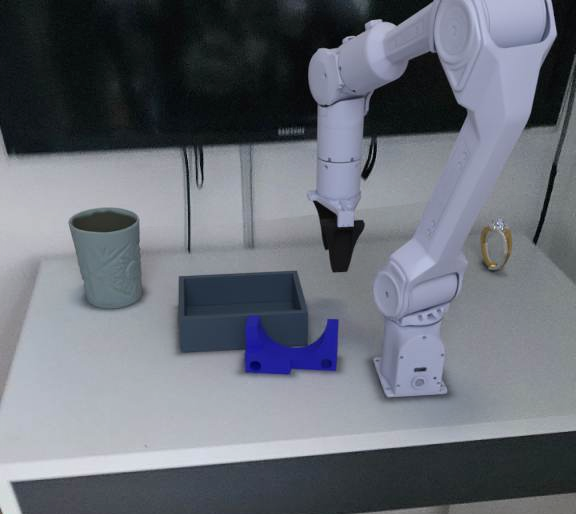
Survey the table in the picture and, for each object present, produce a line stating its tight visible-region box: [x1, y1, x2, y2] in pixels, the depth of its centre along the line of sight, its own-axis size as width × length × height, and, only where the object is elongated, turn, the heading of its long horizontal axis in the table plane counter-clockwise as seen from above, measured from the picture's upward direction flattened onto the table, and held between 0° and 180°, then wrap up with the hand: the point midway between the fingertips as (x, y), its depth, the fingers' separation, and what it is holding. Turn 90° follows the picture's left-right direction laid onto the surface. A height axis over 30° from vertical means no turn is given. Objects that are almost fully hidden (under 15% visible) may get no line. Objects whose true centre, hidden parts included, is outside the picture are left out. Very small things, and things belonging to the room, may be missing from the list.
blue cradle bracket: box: [244, 315, 340, 375], centre depth 101 cm, size 12×4×6 cm, turn 84°
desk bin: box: [177, 270, 309, 353], centre depth 110 cm, size 14×18×5 cm
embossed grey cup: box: [68, 207, 143, 310], centre depth 115 cm, size 10×10×12 cm
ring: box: [480, 218, 513, 271], centre depth 123 cm, size 7×3×8 cm, turn 16°
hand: (335, 259), depth 106 cm, fingers open, 7 cm apart
